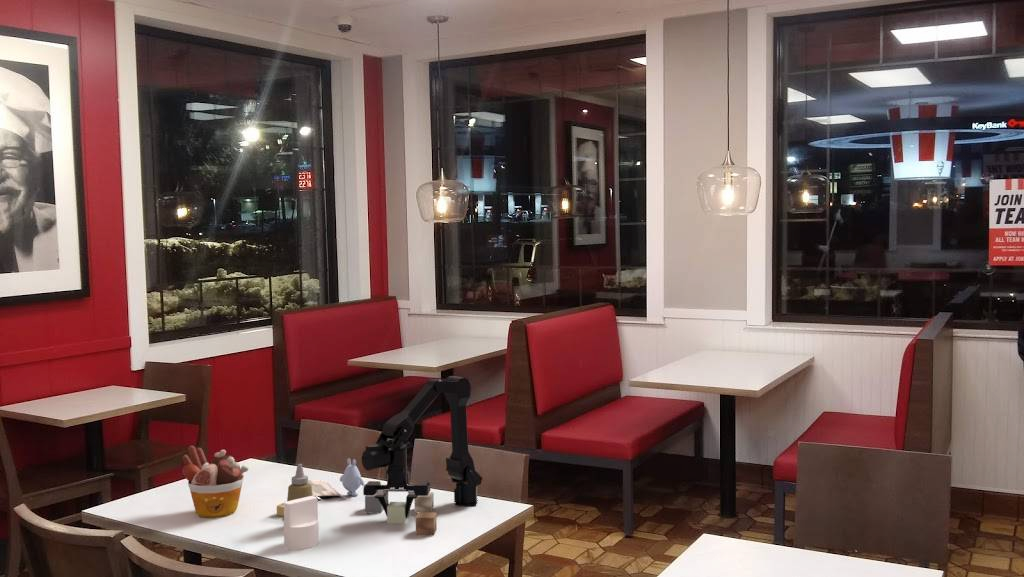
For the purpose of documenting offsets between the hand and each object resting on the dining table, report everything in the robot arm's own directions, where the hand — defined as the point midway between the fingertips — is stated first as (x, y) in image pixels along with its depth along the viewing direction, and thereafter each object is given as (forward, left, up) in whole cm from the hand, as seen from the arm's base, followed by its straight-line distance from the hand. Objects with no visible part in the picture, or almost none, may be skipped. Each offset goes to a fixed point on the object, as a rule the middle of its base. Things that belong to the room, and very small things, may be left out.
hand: (397, 517), depth 259 cm
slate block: (+9, -11, -1) cm, 14 cm away
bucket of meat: (+57, -7, -1) cm, 57 cm away
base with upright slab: (+22, +21, -1) cm, 30 cm away
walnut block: (-10, +10, -1) cm, 14 cm away
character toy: (+33, -4, -2) cm, 33 cm away
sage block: (0, 0, -1) cm, 1 cm away
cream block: (-6, -11, -1) cm, 13 cm away
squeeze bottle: (+27, +6, -1) cm, 28 cm away
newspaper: (+33, -31, -2) cm, 45 cm away
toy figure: (+20, -27, -1) cm, 34 cm away
